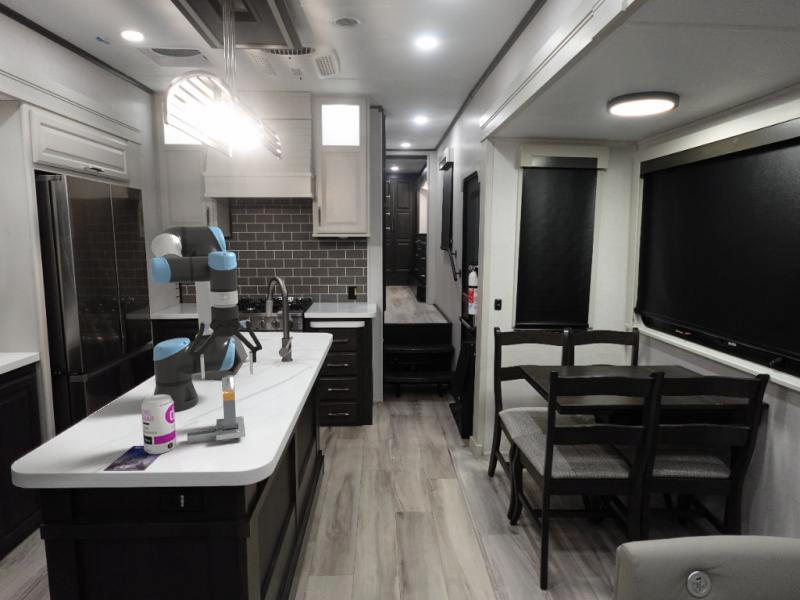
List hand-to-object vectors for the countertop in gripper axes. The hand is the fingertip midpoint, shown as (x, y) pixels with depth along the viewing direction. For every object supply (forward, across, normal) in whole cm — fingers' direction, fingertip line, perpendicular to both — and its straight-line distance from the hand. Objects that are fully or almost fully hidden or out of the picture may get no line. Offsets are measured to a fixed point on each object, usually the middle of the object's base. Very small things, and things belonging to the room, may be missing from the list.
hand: (227, 375), depth 144 cm
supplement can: (+19, -19, -3) cm, 27 cm away
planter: (+20, -2, +62) cm, 66 cm away
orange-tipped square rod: (+19, 0, -1) cm, 19 cm away
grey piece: (+19, -4, +3) cm, 20 cm away
